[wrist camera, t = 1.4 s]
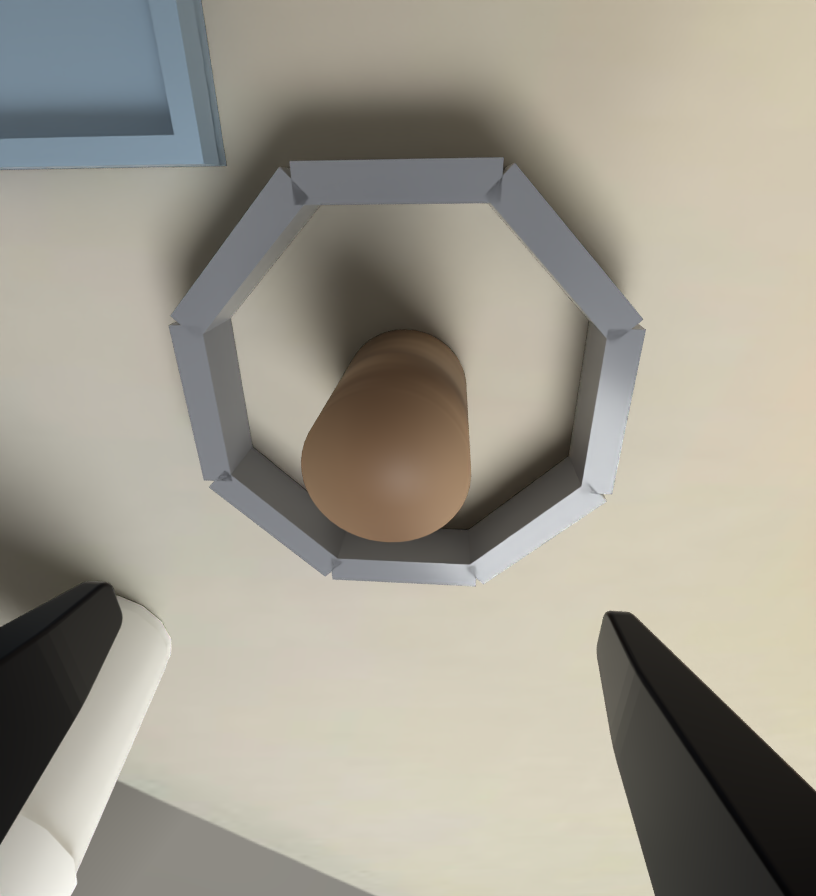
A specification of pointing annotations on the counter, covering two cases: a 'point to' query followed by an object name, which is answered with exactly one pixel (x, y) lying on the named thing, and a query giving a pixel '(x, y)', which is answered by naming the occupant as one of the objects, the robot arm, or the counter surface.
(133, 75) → the tray
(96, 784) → the foam cup
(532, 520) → the holder ring
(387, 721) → the counter surface
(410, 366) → the walnut cylinder
